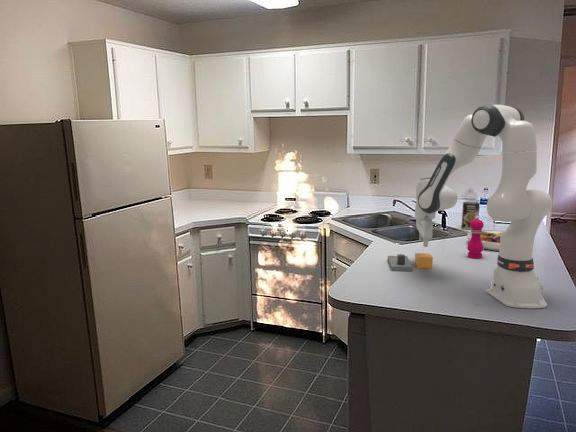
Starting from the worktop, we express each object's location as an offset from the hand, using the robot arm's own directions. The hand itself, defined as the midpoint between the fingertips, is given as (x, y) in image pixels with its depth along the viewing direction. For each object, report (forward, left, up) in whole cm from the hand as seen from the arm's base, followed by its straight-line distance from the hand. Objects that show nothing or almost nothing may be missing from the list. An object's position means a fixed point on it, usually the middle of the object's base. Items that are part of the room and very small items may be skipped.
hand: (423, 243), depth 208 cm
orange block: (-1, 0, -10) cm, 10 cm away
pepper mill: (+15, -27, -11) cm, 33 cm away
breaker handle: (-4, +10, -8) cm, 14 cm away
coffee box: (+76, -41, -11) cm, 88 cm away
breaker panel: (0, +10, -10) cm, 15 cm away
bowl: (+38, -45, -11) cm, 60 cm away
